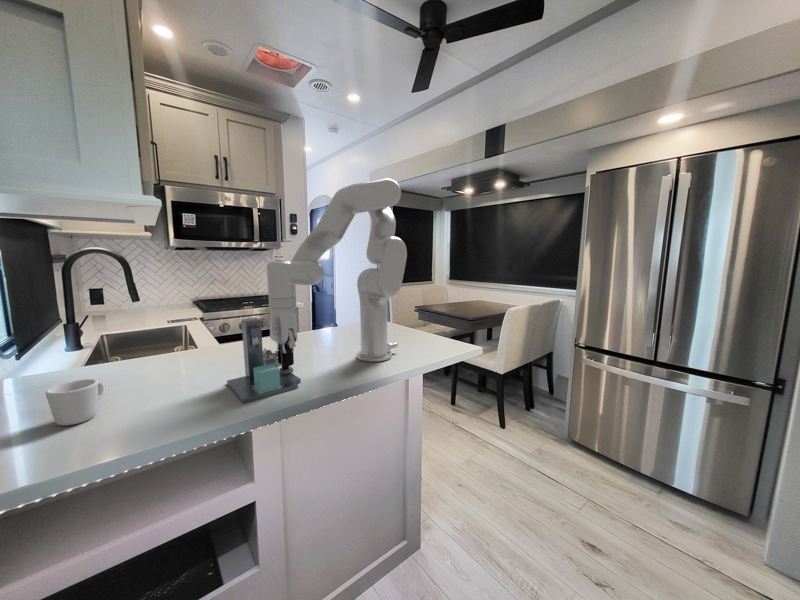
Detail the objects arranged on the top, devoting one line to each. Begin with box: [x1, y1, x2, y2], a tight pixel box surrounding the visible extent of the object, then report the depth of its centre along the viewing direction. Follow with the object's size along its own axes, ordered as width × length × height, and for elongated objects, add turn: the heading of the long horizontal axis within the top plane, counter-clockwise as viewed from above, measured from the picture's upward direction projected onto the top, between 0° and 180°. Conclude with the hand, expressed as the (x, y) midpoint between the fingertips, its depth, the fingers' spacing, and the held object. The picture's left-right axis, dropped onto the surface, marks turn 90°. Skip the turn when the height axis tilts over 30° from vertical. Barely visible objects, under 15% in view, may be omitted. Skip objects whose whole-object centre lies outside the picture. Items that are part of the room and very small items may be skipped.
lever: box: [278, 340, 294, 375], centre depth 94 cm, size 3×3×10 cm
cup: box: [45, 378, 104, 427], centre depth 71 cm, size 11×8×8 cm
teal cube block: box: [253, 364, 280, 391], centre depth 84 cm, size 5×5×5 cm
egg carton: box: [263, 348, 281, 367], centre depth 108 cm, size 11×8×4 cm
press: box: [226, 317, 302, 404], centre depth 87 cm, size 16×16×18 cm
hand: (286, 363), depth 95 cm, fingers closed on lever, 2 cm apart
